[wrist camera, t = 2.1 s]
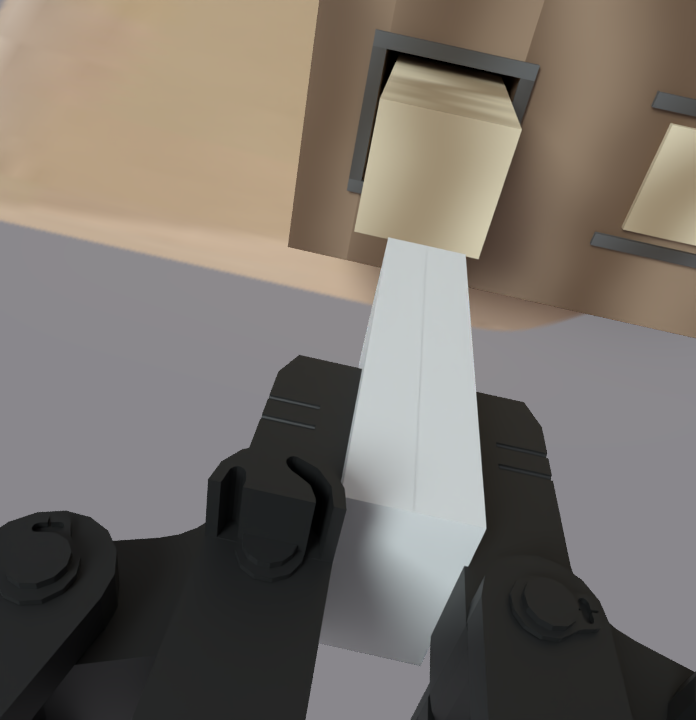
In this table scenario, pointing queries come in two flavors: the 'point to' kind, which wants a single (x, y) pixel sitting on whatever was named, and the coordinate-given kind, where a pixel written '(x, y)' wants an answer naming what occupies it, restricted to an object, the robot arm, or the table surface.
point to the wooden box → (531, 144)
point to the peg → (438, 156)
